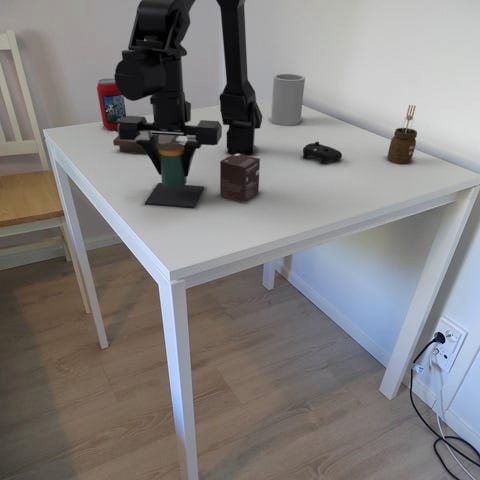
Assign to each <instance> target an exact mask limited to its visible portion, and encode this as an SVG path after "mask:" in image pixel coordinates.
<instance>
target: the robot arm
mask: <svg viewBox="0 0 480 480" xmlns="http://www.w3.org/2000/svg"><path fill="white" fill-rule="evenodd" d="M196 1H197V0H141V1H140V2H139V3H138V6H137V8H136V13H135V17H134V21H133V26H132V29H131V33H130V37H129V41H128V45H127V49H123V50H121V58H122V60H120V61H119V62H118V63H117V64H116V66H115V71H114V74H113V76H114V78H113V79H115V82H116V85H117V88H118V90H119V91H120V93H121V94H122V95H123V96H124V99H126V100H127V101H128V100H129V101H131V102H136V101H138V100H139V101H140V100H142V99H144V98H147V97H149V104H150V105H152V115H153V121H152V122H148V121H147V118H146V116H141V115H126V117H125V118H124V119H123V120H122V121H121V122H120V123H119V124H118V128H117V130H116V131H117V137H118V136H119V139H125V140H134V139H135V138H136V137H137V141H136V144H137V145H141V146H142V148H143V149H144V150H145V152H146V153H147V154H146V155H147V156H148V158H149V159H150V161H151V163H152V164H153V166H154V168H155V170H156V171H157V173H158V175H159V176H161V168H160V158H159V152H158V146H159V135H174V136H179V137H186V139H187V140H186V141H185V143H184V144H183V145H184V172H185V177H188V176H189V175H190V171H191V166H192V164H193V163H192V162H193V158H194V155H195V153H196V150H199V149H201V148H202V146H203V145H205V146H217V145H218V144H219V142H220V140H221V138H222V136H223V135H222V134H223V133H222V132H223V129H222V126H228V129H227V131H226V149H227V154H232V155H233V154H235V153H237V154H242V155H247V156H252V155H254V152H255V149H256V145H255V139H256V136H255V135H256V130H258V129H261V126H262V122H263V114H262V112H261V109H260V107H259V105H258V103H257V96H256V91H255V89H254V88H253V86H252V84H251V82H250V80H249V77H248V57H247V37H246V14H245V3H246V0H215V1H216V3H217V5H218V7H219V10H220V20H221V32H222V43H223V44H222V45H223V55H224V67H225V68H224V69H225V79H226V81H225V82H226V83H225V86H224V88H223V90H222V92H221V93H220V95H219V97H218V98H219V104H220V105H219V106H220V107H219V111H220V115H221V120H222V124H221V122H220V121H219V120H208V119H207V120H206V119H205V120H204V119H201V120H199V122H198V124H196V125H192V124H190V125H189V124H188V123H189V122H191V121H192V120H191V119H192V103H191V102H189V101H187V100H186V94H185V91H184V77H183V61H182V57H186V56H187V55H188V51H187V49H186V48H185V47H184V46H183V45H182V44H181V43H182V42H183V41H184V40H185V39H184V38H185V37H186V34H187V32H188V30H189V28H190V26H191V16H190V11H191V9H192V8H193V5H194V4H195V2H196ZM186 123H187V124H186ZM161 129H165V130H161ZM176 130H180V131H176Z"/></svg>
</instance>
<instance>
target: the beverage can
mask: <svg viewBox="0 0 480 480" xmlns="http://www.w3.org/2000/svg"><path fill="white" fill-rule="evenodd" d="M97 81H98V82H97V86H96V91H97V97H98V102H99V109H100V116H101V120H102V126H103V127H104V128H106V130H107V129H108V130H110V131H118V130H117V128H118V124H119V123H120V122H121V121H122V120H123V119H124V118H125V117H127V112H126V104H125V97H124V96H123V95H122V94H121V93H120V91H119V90H118V88H117V85H116V82H115V78H101V79H99V80H97Z"/></svg>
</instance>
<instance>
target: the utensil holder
mask: <svg viewBox="0 0 480 480" xmlns="http://www.w3.org/2000/svg"><path fill="white" fill-rule="evenodd" d="M415 111H416V105H413V104H412V105H411V104H409V105H408V108H407V112H406V116H405V117H404V118H403V121H402V125H401V126H402V127H398V128H396V129H395V131H394V133H393V134H394V136H393V137H392V138H391V140H390V144H389V147H388V151H387V160H388V161H389V162H392V163H394V164H400V165H401V164H403V165H404V164H408V163H410V162H411V161H412V159H413V156H414V153H415V149H416V145H417V140H416V138H417V137H418V131H417V130H415V129H413V128H412V125H413V124H414V115H415ZM406 121H407V123H406ZM410 121H411V124H410V126H409V123H410ZM405 123H406V127H405V126H404V125H405Z"/></svg>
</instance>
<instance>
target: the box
mask: <svg viewBox="0 0 480 480" xmlns="http://www.w3.org/2000/svg"><path fill="white" fill-rule="evenodd" d="M260 163H261V158H260V157H255V156H252V155H246V154H237V153H235V154H232V155H228V156H226V157H225V158H224V159H222V160H220V161H219V177H220V178H219V184H220V186H219V187H220V192H219V193H220V196H221V197H224V198H227V199H231V200H235V201H238V202H242V203H245V202H247V201H249V200H250V199H252V198H253V197H255V196H256V195H257V194H259V190H260V168H261V167H260Z"/></svg>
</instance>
